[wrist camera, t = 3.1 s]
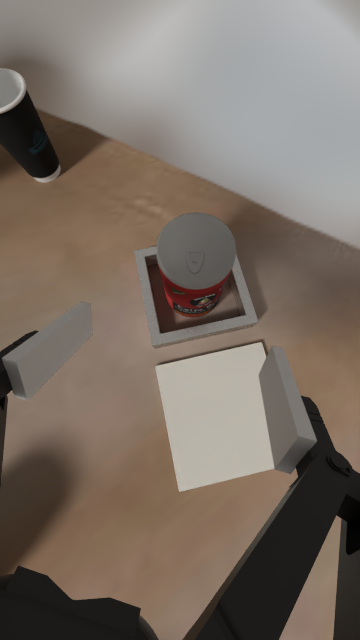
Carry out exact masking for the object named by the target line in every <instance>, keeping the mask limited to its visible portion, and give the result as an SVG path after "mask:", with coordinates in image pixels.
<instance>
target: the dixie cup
mask: <svg viewBox="0 0 360 640" xmlns="http://www.w3.org/2000/svg"><path fill="white" fill-rule="evenodd" d="M0 143H1V144H2V145H3V147H4V148H5V149H6V150H7V151H8V152H9V153H10V154H11V155H12V156H13V157H14V158H15V160H16V161H17V162H18V163H19V164H20V165H21V166H22V167H23V168H24V169H25V170H26V171H27V173H28V174H29V175H31V176H32V177H34V178H35V179H36V180H37V181H39V182H50V181H52V180H54V179H56V178H57V177H58V175H59V174H60V171H61V167H60V165H59V160H58V157H57V155H56V153H55V151H54V149H53V146H52V144H51V142H50V140H49V138H48V135H47V133H46V131H45V129H44V127H43V124H42V122H41V120H40V118H39V116H38V113H37V111H36V109H35V107H34V105H33V102H32V100H31V98H30V96H29V94H28V92H27V90H26V83H25V80H24V79H23V77H22V76H21V75H20V74H19V73H17V72H15V71H13V70H9V69H4V68H0Z"/></svg>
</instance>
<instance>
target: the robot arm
mask: <svg viewBox="0 0 360 640" xmlns="http://www.w3.org/2000/svg"><path fill="white" fill-rule="evenodd" d="M92 335H93V332H92V315H91V304H90V303H86V302H80V303H78V304H77V305H75V306H74V307H73V308H71V309H70V310H68V311H67V312H66V313H64V314H63V315H61V316H60V317H59V318H57V319H56V320H54V321H53V322H52V323H50V324H49V325H47V326H46V327H45V328H43V329H42V330H40V331H33V332H30V333H28V334H25V335H24V336H23V337H21V338H20V339H19V340H17V341H15V342H14V343H13V344H11V345H9V346H8V347H6V348H5V349H3V350H2V351H1V352H0V485H1V473H2V461H3V450H4V438H5V426H6V415H7V403H8V398H7V394H8V393H9V392H10V391H11V390H13V393H14V396H15V397H16V398H20V399H23V400H27V401H28V400H29V399H30V398H31V397H32V396H33V395H34V394H35V393H36V392H37V391H38V390H39V389H40V388H41V387H42V386H43V385H44V384H45V383H46V382H47V381H48V380H49V379H50V378H51V377H52V376H53V375H54V373H55V372H56V371H57V370H58V369H59V368H60V367H61V366H62V365H63V364H64V363H65V362H66V361H67V360H68V359H69V358H70V357H71V356H72V355H73V354H74V353H75V352H76V351H77V350H78V349H79V348H80V347H81V346H82V345H83V344H84V343H85V342H86V341H87V340H88V339H89V338H90V337H91V336H92ZM259 381H260V387H261V393H262V398H263V404H264V410H265V416H266V422H267V428H268V433H269V439H270V445H271V451H272V457H273V462H274V468H275V470H278V471H282V472H286V473H289V474H291V473H292V472H293V470H294V469H295V468H296V470H297V474H298V478H297V479H296V480H295V481H294V482H293V483H292V485H291V486H290V489H289V490H288V491H287V493H286V494H285V496H284V497H283V499H282V500H281V501H280V503H279V504H278V506H277V507H276V509H275V510H274V511H273V513H272V514H271V516H270V517H269V519H268V520H267V521H266V523H265V524H264V526H263V527H262V529H261V530H260V531H259V533H258V534H257V536H256V537H255V539H254V540H253V541H252V543H251V544H250V546H249V547H248V549H247V550H246V551H245V553H244V554H243V556H242V557H241V559H240V560H239V561H238V563H237V564H236V566H235V567H234V569H233V570H232V572H231V573H230V574H229V576H228V577H227V579H226V580H225V582H224V583H223V584H222V586H221V587H220V589H219V590H218V592H217V593H216V594H215V596H214V597H213V599H212V600H211V602H210V603H209V604H208V606H207V607H206V609H205V610H204V612H203V613H202V614H201V616H200V617H199V618H198V620H197V621H196V622H195V624H194V625H193V626H192V627H191V629H190V630H189V631H188V633H187V634H186V636H185V637H184V638H183V640H279V638H280V636H281V634H282V631H283V629H284V627H285V625H286V623H287V621H288V618H289V616H290V614H291V612H292V610H293V608H294V605H295V603H296V601H297V599H298V597H299V595H300V592H301V590H302V588H303V586H304V584H305V582H306V580H307V577H308V575H309V573H310V571H311V569H312V567H313V564H314V562H315V560H316V558H317V556H318V554H319V551H320V549H321V547H322V545H323V543H324V541H325V538H326V536H327V534H328V532H329V530H330V528H331V526H332V523H333V521H334V519H335V517H336V515H337V516H338V517H340V518H342V520H341V535H340V549H339V564H338V578H337V593H336V607H335V622H334V636H333V640H360V473H358V472H356V471H355V470H353V469H352V466H351V465H350V463H349V462H348V461H347V459H346V458H344V457H343V456H342V455H341V454H340V453H338V452H337V451H336V450H335V448H334V445H333V443H332V441H331V438H330V436H329V434H328V431H327V429H326V427H325V424H323V420H322V417H321V416H320V413H319V410H318V408H317V406H316V405H315V403H314V402H313V401H312V400H311V399H310V398H308V397H304V396H301V395H300V393H299V390H298V387H297V384H296V382H295V379H294V376H293V374H292V371H291V368H290V365H289V363H288V360H287V357H286V354H285V352H284V349H283V348H280V347H276V346H271V348H270V351H269V353H268V355H267V357H266V359H265V362H264V364H263V366H262V368H261V370H260V373H259ZM140 610H141V608H138V607H135V606H132V605H130V604H127V603H124V602H121V601H118V600H115V599H112V598H98V599H86V600H72V599H71V598H70V597H69V596H68V595H66V594H65V593H64V592H63V591H62V590H61V589H60V588H59V587H58V586H57V585H56V584H55V583H54V582H53V581H52V580H51V579H50V578H49V577H48V576H47V575H44V574H41V573H38V572H35V571H32V570H29V569H27V568H24V567H21V566H18V567H17V569H16V571H15V573H14V574H9V575H5V576H1V577H0V640H158V638H157V636H156V634H155V633H154V631H153V629H152V628H151V627H150V625H149V624H148V623H147V622H146V621H145V620H144V619H143V618H142V617H141V616H140Z"/></svg>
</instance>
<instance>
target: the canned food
mask: <svg viewBox="0 0 360 640" xmlns="http://www.w3.org/2000/svg"><path fill="white" fill-rule="evenodd" d="M156 254H157V261H158V266H159V270H160V274H161V278H162V282H163V286H164V290H165V295H166V298H167V301H168V303H169V305H170V306H171V307H172V309H173V310H175V311H176V312H177V313H179V314H181V315H183V316H186V317H199V316H203V315H205V314H207V313H209V312H210V311H211V310H212V309H213V308H214V307H215V306H216V304H217V302H218V300H219V298H220V296H221V294H222V291H223V289H224V287H225V284H226V282H227V280H228V277H229V275H230V273H231V270H232V267H233V265H234V261H235V256H236V243H235V239H234V236H233V234H232V232H231V231H230V229H229V228H228V227H227V226H226V225H225V223H224V222H222V221H221V220H219V219H218V218H216V217H214V216H212V215H209V214H205V213H187V214H184V215H181V216H178V217H176V218H174V219H173V220H172V221H170V222H169V223H168V224H167V225H166V226H165V227H164V228H163V230H162V231H161V233H160V235H159V238H158V240H157V246H156Z"/></svg>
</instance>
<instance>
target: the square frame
mask: <svg viewBox="0 0 360 640" xmlns="http://www.w3.org/2000/svg"><path fill="white" fill-rule="evenodd" d="M134 253H135V258H136V263H137V268H138V274H139V279H140V284H141V289H142V295H143V300H144V305H145V311H146V316H147V321H148V326H149V332H150V337H151V342H152V346H153V347H154V348H160V347H164V346H169V345H173V344H178V343H182V342H187V341H191V340H195V339H200V338H204V337H209V336H213V335H218V334H222V333H227V332H231V331H236V330H240V329H245V328H249V327H253V326H254V325H255V324H257V323H258V319H257V316H256V313H255V310H254V307H253V304H252V301H251V297H250V294H249V291H248V288H247V285H246V282H245V279H244V276H243V273H242V270H241V267H240V264H239V261H238V258H237V255H236V256H235V261H234V265H233V267H232V270H231V273H230V275H229V277H228V278H229V281H230V285H231V288H232V291H233V294H234V298H235V301H236V304H237V307H238V311H239V314H240V317H235V318H231V319H226V320H222V321H217V322H213V323H208V324H204V325H199V326H195V327H190V328H186V329H181V330H177V331H172V332H168V333H163V334H161V330H160V325H159V321H158V316H157V311H156V306H155V301H154V296H153V291H152V286H151V281H150V276H149V271H148V266H149V265H153V264H158V261H157V254H156V246H155V247H150V248H146V249H141V250H136V251H134Z"/></svg>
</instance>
